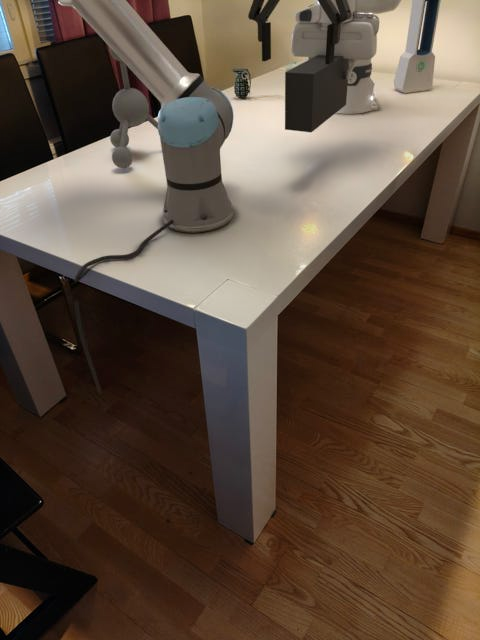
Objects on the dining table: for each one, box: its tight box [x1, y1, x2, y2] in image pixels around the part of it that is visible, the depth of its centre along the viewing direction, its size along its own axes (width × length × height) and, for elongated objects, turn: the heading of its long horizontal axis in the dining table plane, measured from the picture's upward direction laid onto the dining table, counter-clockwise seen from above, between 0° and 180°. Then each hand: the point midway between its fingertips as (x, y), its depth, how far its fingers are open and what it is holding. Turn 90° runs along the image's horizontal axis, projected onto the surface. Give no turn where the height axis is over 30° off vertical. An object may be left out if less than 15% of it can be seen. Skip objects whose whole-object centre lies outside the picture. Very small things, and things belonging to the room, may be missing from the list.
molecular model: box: [108, 46, 158, 169], centre depth 132 cm, size 24×22×30 cm
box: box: [284, 55, 349, 133], centre depth 114 cm, size 23×6×12 cm, turn 151°
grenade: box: [231, 68, 252, 100], centre depth 184 cm, size 7×6×10 cm
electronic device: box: [393, 0, 442, 94], centre depth 176 cm, size 12×8×30 cm, turn 105°
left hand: (297, 61), depth 98 cm, fingers open, 13 cm apart
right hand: (331, 78), depth 119 cm, fingers closed on box, 6 cm apart
